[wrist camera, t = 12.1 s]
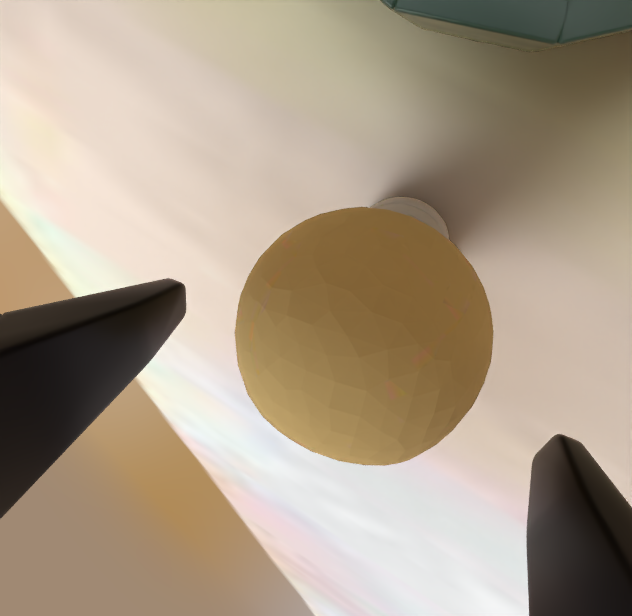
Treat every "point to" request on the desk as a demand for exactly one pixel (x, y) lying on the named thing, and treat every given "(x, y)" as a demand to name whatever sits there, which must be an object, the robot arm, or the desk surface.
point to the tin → (519, 20)
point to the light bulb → (365, 333)
